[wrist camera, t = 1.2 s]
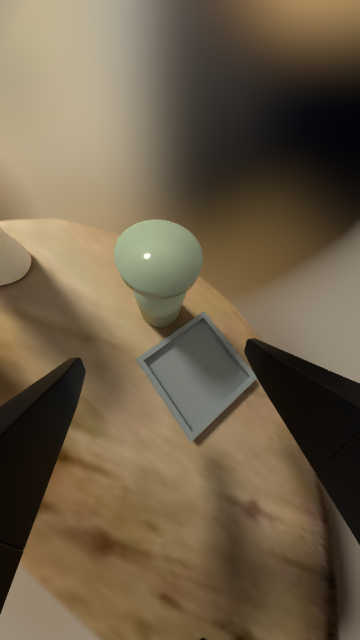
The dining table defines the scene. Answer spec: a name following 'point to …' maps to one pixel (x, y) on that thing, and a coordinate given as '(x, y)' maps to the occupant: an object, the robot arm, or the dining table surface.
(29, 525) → the robot arm
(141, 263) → the sage green mushroom knob
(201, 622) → the dining table surface
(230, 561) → the dining table surface
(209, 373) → the tray
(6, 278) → the white milk bottle
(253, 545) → the dining table surface
